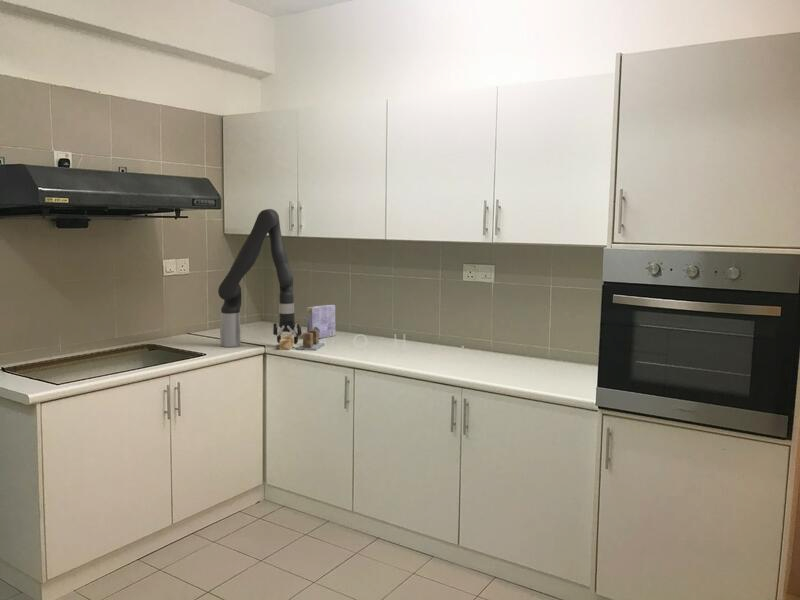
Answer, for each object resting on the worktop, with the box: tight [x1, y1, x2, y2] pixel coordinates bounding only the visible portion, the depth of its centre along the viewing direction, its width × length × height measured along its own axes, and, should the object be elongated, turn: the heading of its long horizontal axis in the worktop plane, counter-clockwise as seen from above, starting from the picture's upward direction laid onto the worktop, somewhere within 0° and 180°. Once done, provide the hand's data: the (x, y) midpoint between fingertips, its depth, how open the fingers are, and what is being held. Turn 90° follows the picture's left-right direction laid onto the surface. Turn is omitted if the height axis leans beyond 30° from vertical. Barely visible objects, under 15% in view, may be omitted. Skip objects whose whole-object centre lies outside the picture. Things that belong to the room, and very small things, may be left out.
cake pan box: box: [306, 304, 337, 339], centre depth 356 cm, size 19×5×18 cm, turn 141°
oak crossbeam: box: [279, 334, 295, 351], centre depth 329 cm, size 5×15×5 cm, turn 0°
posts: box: [302, 330, 320, 348], centre depth 329 cm, size 4×13×7 cm, turn 169°
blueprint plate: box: [296, 342, 326, 351], centre depth 329 cm, size 10×14×1 cm
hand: (287, 343), depth 329 cm, fingers open, 8 cm apart
